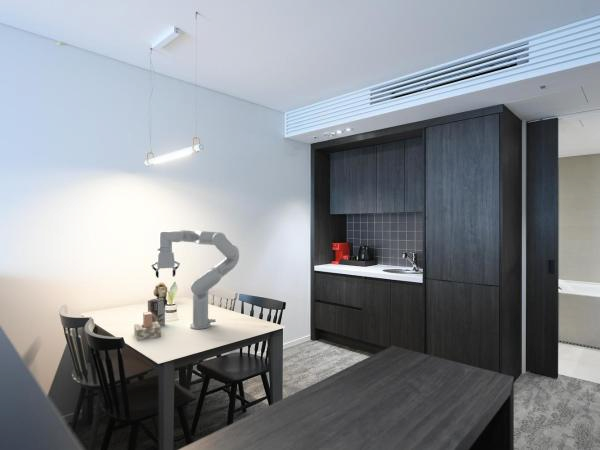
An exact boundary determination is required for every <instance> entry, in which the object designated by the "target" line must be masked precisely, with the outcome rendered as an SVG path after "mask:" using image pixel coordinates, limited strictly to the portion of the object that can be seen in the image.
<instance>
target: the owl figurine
mask: <svg viewBox="0 0 600 450" xmlns="http://www.w3.org/2000/svg"><path fill="white" fill-rule="evenodd" d="M167 293H168V287H167V286H166V284H165V283H164V282H158V283H157V284H155V286H154V290H153V295H154V297H156V299H162V300H165V306H166V305H168V304H167V301H168V300H167V295H168V294H167Z"/></svg>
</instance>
